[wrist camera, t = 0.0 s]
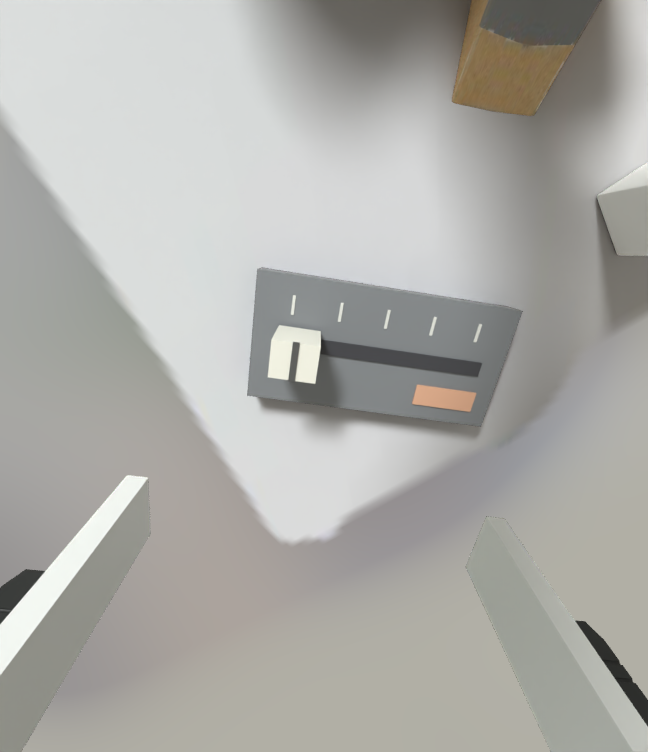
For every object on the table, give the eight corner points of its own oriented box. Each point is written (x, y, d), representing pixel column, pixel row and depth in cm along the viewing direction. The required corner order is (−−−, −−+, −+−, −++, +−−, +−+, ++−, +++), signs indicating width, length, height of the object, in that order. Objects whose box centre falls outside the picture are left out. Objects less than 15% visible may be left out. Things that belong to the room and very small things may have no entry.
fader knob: (279, 324, 35) (271, 338, 29) (320, 330, 35) (321, 345, 30) (275, 358, 36) (267, 378, 31) (315, 364, 37) (314, 385, 31)
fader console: (262, 267, 36) (256, 269, 33) (507, 306, 38) (523, 311, 35) (252, 385, 41) (246, 396, 38) (470, 415, 43) (481, 427, 40)
